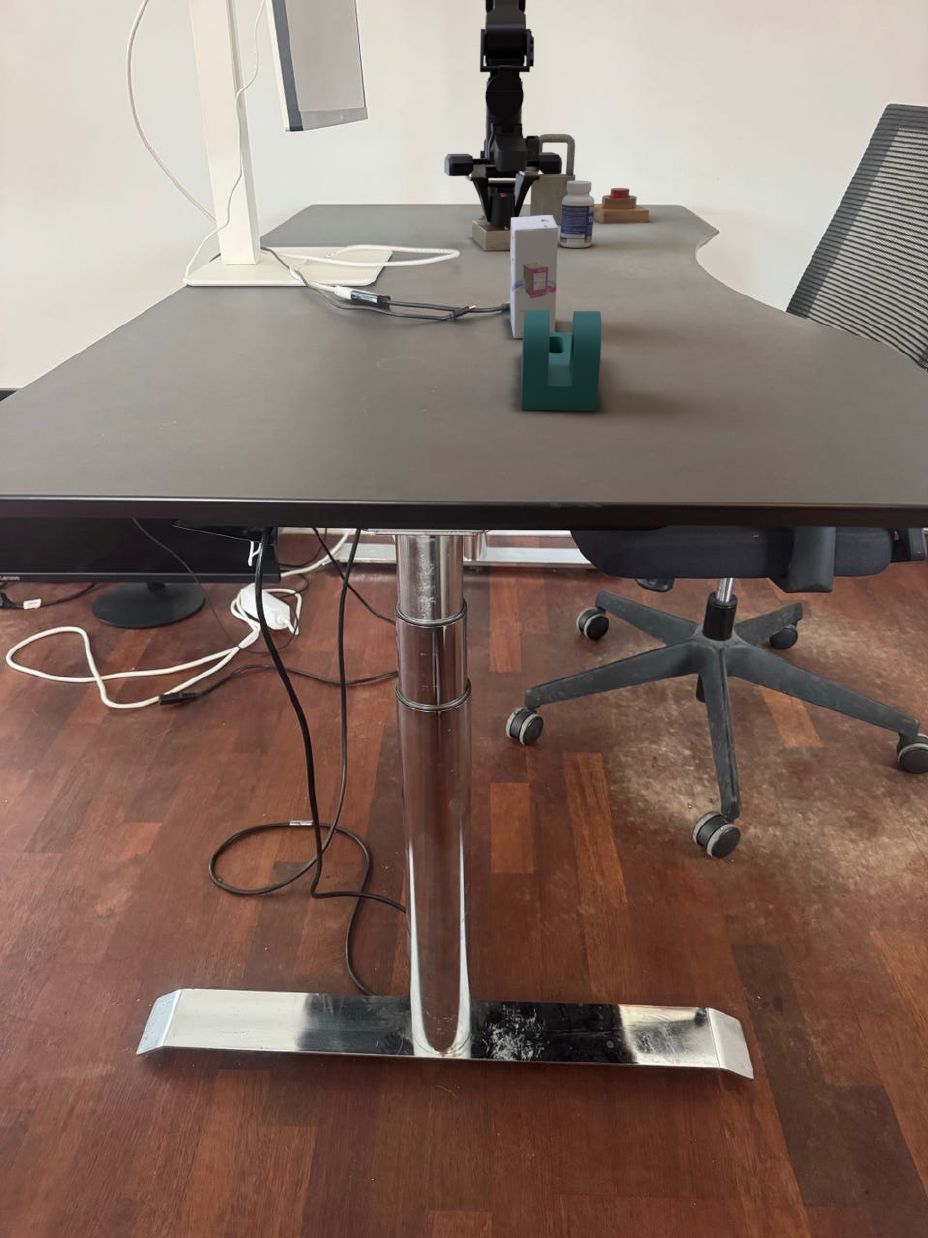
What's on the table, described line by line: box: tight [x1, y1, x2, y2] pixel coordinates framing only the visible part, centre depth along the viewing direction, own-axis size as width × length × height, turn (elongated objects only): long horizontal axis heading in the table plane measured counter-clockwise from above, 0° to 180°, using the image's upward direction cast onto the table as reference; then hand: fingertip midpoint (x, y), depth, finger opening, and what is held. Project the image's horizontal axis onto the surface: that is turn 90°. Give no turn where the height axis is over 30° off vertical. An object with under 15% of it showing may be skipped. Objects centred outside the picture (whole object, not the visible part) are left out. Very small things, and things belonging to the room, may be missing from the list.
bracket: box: [520, 310, 602, 412], centre depth 85 cm, size 18×7×8 cm, turn 177°
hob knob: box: [489, 193, 515, 227], centre depth 146 cm, size 4×4×5 cm
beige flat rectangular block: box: [471, 219, 511, 252], centre depth 149 cm, size 12×10×3 cm
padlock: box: [529, 133, 576, 225], centre depth 164 cm, size 4×8×15 cm, turn 85°
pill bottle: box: [559, 180, 595, 249], centre depth 145 cm, size 5×5×10 cm
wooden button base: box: [593, 194, 650, 225], centre depth 170 cm, size 10×9×4 cm
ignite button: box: [609, 187, 631, 198], centre depth 169 cm, size 4×4×2 cm
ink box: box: [509, 215, 559, 339], centre depth 100 cm, size 9×5×12 cm, turn 1°
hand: (501, 221), depth 147 cm, fingers closed on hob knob, 4 cm apart
